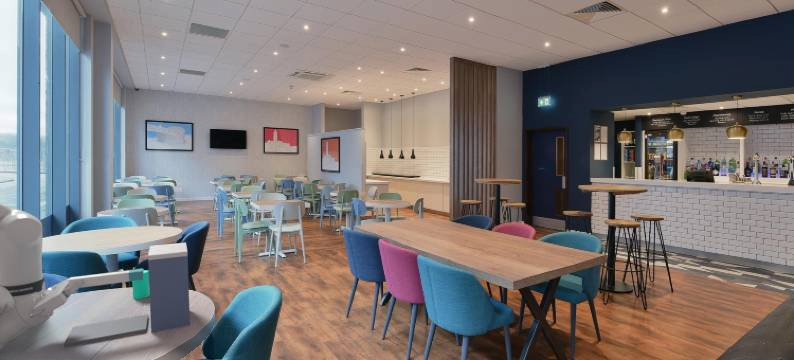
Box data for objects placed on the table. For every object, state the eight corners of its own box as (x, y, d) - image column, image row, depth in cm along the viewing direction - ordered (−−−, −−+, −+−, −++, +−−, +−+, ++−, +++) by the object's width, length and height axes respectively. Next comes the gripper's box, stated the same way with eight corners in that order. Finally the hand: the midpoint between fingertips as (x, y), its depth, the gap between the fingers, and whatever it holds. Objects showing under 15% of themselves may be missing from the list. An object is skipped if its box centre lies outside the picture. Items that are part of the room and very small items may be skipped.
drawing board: (63, 347, 124) (63, 343, 124) (73, 330, 136) (73, 326, 136) (146, 332, 134) (145, 328, 134) (148, 317, 146) (147, 314, 146)
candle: (131, 296, 168) (129, 268, 167) (147, 292, 172) (146, 265, 172) (135, 300, 164) (133, 271, 163) (151, 296, 168) (150, 268, 167)
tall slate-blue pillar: (151, 332, 134) (148, 255, 132) (153, 315, 148) (150, 246, 146) (189, 325, 140) (187, 251, 138) (188, 309, 154) (185, 242, 152)
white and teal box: (68, 289, 127) (68, 280, 127) (71, 286, 131) (70, 277, 130) (143, 279, 137) (142, 271, 137) (143, 276, 140) (143, 268, 140)
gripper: (19, 311, 115) (70, 281, 121) (39, 290, 133) (83, 265, 139) (34, 327, 117) (84, 297, 123) (52, 304, 135) (95, 279, 140)
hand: (84, 280), depth 131 cm, fingers closed on white and teal box, 3 cm apart
